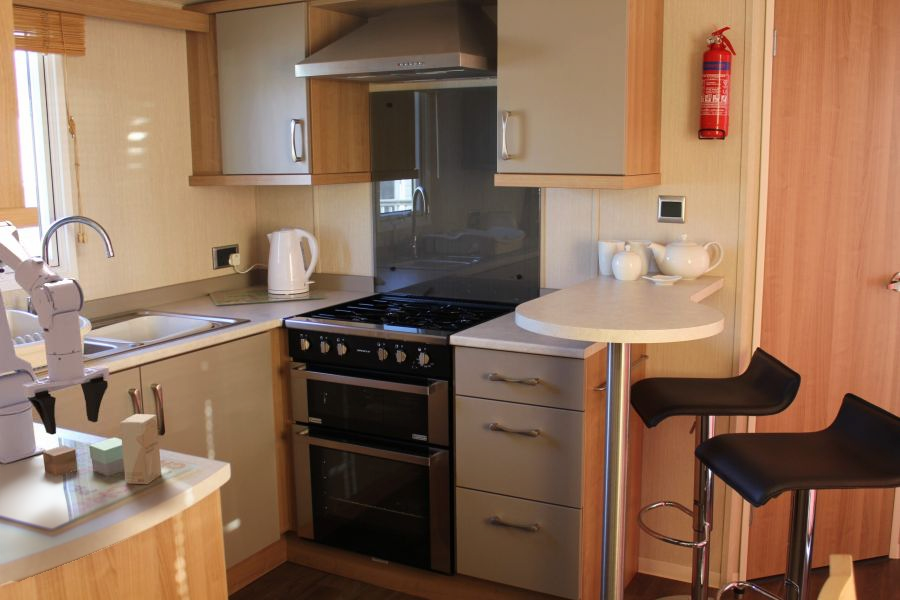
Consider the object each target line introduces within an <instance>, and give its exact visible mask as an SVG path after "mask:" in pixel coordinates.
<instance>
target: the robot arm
mask: <svg viewBox="0 0 900 600" xmlns="http://www.w3.org/2000/svg"><path fill="white" fill-rule="evenodd" d="M6 266H8V268H10V269H11V270H12V271H13V272H14V281H15V282H16V283H17V284H18V285H19V286H20V287H21V288H22V289H23V290H24V292H26V293H27V294H28V295H29V297H31V298H32V305H33V308H34V310H35V312H36V314H37V319H38V324H39V326H40V327H41V328H42V329H43V339H44V346H45V347H44V349H45V357H46V365H47V373H48V375H47V376H46V377H42V378H40V379H38V377H37V376H36V374H35V372H34V369H33V366H32V364H31V362H29V361H27V360H25V359H22V358H21V357H19V356H17V355H16V350H15V347H14V346H15V345H14V342H13V337H12V332H11V330H10V324H9V320H8V316H7V311H6V307H5V303H4V299H3V295H2V290H1V289H0V463H2V464H9V463H12V462H15V461H18V460H19V461H20V460H22V459H25V458H28V457H31V456H35V455H38V454H43V451H47V450H46V449H45V448H43V447H41V446H39V445H37V443H36V436H35V428H34V420H33V411H32V408H33V407H34V409H35V410H36V412H37V414H38V415H39V417H40V419H41V421H42V424H43V426H44V430H45V433H47V434H49V435H56V434H57V423H56V418H55V411H56V410H55V409H56V397H55V396H51V393H49V392H54V391H57V390H61V389H64V388H69V387H73V386H78V385H80V386H81V389H82V392H83V396H84V401H85V410H86V411H85V412H86V416H87V418H86V419H87V421H89V422H92V423H97V422H98V420H99V414H100V409H101V404H102V402H103V401H102V400H103V397H104V395H105V393H106V391H107V389H108V388H109V387H108V386H109V384H108V383H109V382H108V381H107V380H105V379H110V370H109V367H108V366H105V365H101V366H99V365H98V366H95V367H89V368H85V366H84V365H85V363H84V356H83V355H84V354H83V346H82V345H83V344H82V338H81V337H82V334H81V328H80V327H81V326H80V317H79V312H81V311H82V310H83V308H84V304H85V296H84V291H83V288H82V286H81V285H80V283H79V282H78V280H77V279H76V278H73V277H72V278H71V277H70V278H67V277H61V275H60V274H58V273H57V272H56V270H54V269H53V268H52V267H51V266H50V265H49V264H48V263H47V262H45V260H44V259H43V258H42V257H32V256H31V255H30V254H29V253H28V251H27V250H26V249H25V248H24V247H23V245H22V244H21V243H20V236H19V232H18V229H17V228H16V227H15V225H14V224H13V223H12V222H11V221H8V220H5V221H2V222H0V270H1V269H3V268H4V267H6ZM9 372H10V373H11V372H15V373H11V374H5V373H9ZM1 374H4V375H2V376H1Z"/></svg>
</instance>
